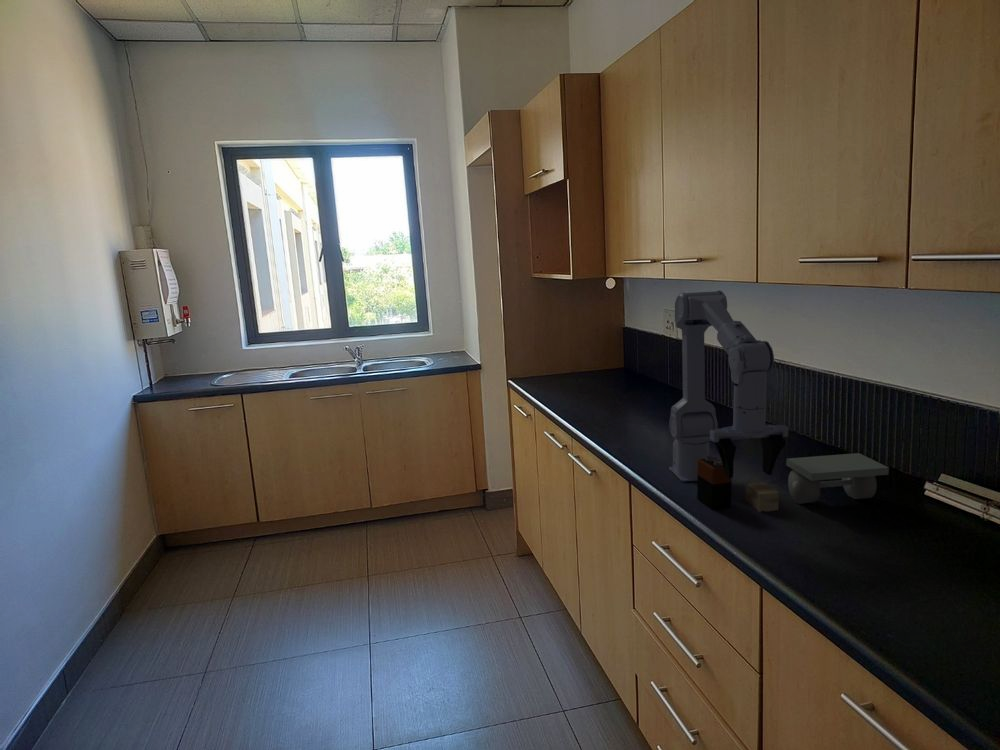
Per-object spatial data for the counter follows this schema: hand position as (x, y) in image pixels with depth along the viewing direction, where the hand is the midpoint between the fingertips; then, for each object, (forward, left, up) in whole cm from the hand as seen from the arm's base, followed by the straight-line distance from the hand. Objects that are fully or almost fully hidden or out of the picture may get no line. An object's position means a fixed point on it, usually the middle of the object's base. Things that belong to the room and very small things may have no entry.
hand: (747, 474), depth 123 cm
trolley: (-7, +22, -10) cm, 25 cm away
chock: (-8, +7, -10) cm, 15 cm away
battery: (-11, -2, -10) cm, 15 cm away
